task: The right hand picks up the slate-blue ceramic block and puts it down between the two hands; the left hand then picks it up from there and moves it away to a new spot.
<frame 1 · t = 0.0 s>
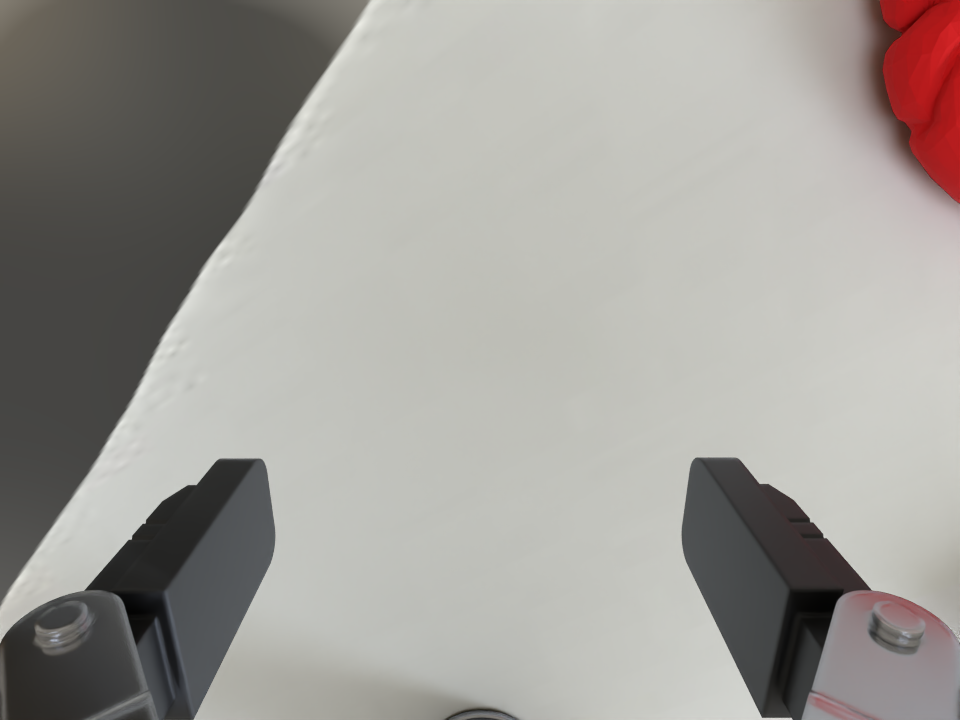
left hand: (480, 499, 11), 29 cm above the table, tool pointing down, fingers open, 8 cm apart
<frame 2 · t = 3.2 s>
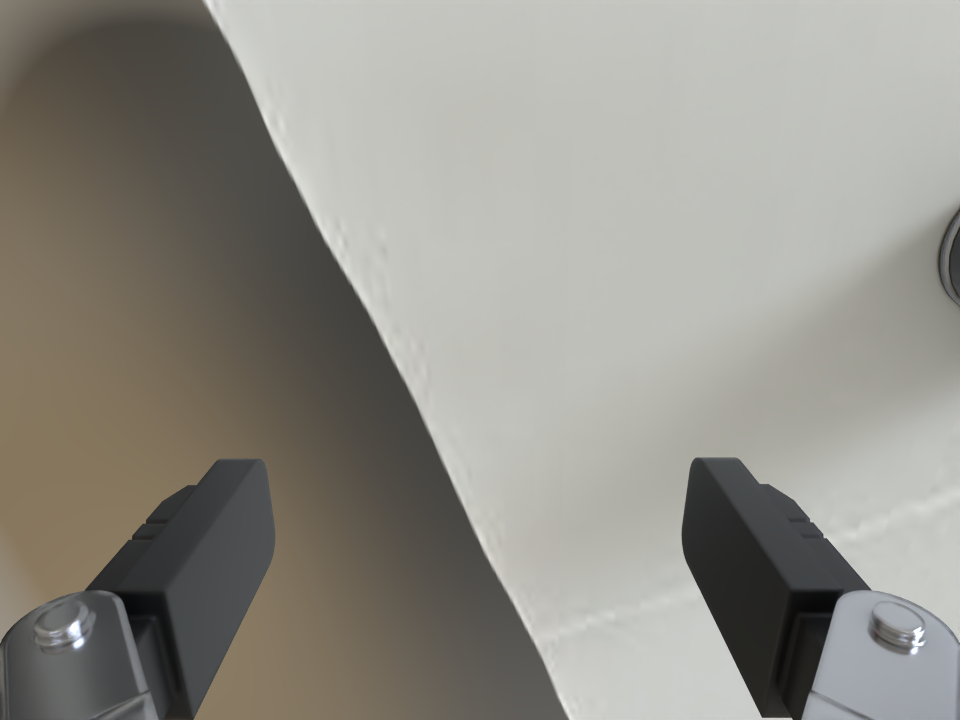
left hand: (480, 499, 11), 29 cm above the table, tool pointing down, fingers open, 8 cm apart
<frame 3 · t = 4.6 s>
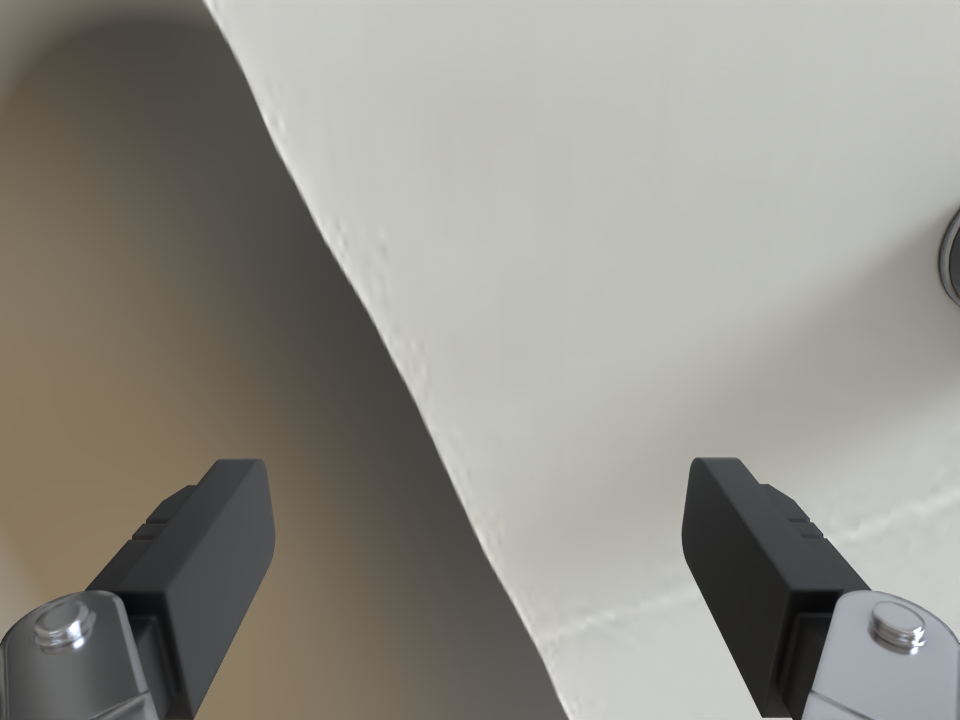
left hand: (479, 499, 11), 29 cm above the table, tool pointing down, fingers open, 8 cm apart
when the right hand's fingers open (1 cm above the table, at t = 6.2 s): block stays where it is, on the table.
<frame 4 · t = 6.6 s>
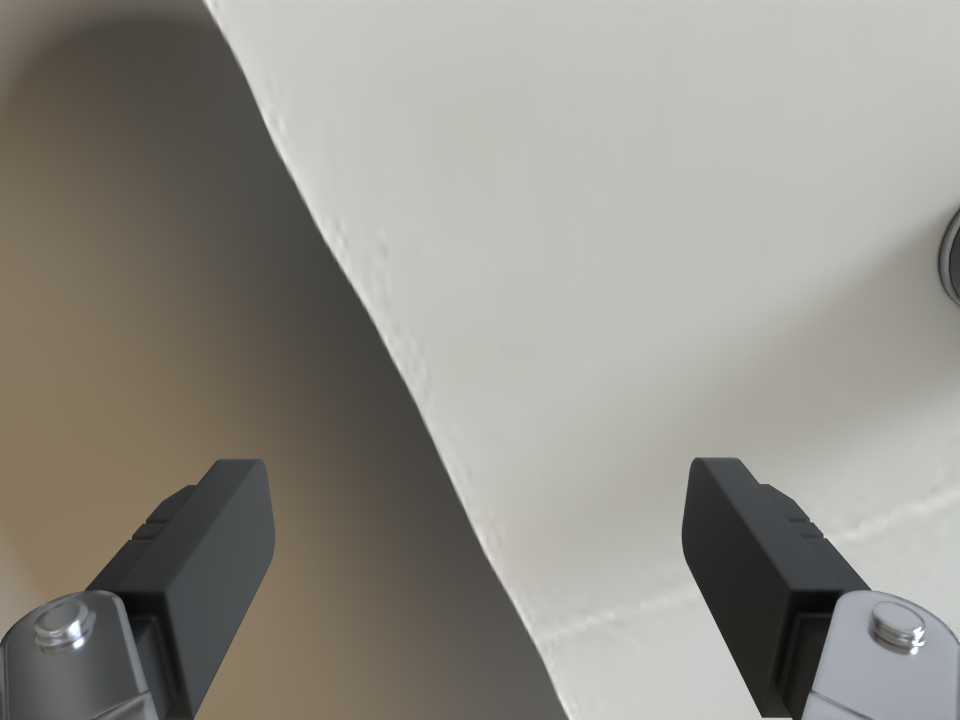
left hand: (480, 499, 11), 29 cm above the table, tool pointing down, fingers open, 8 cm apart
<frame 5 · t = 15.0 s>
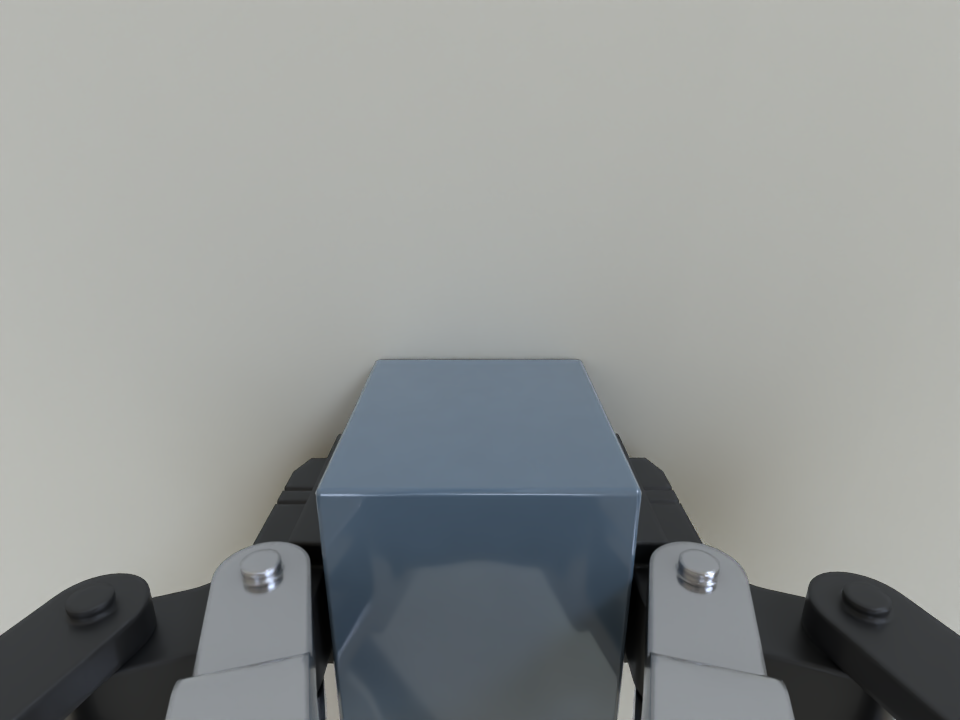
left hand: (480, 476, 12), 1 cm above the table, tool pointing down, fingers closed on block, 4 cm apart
block: (478, 461, 13), on the table, touching left hand
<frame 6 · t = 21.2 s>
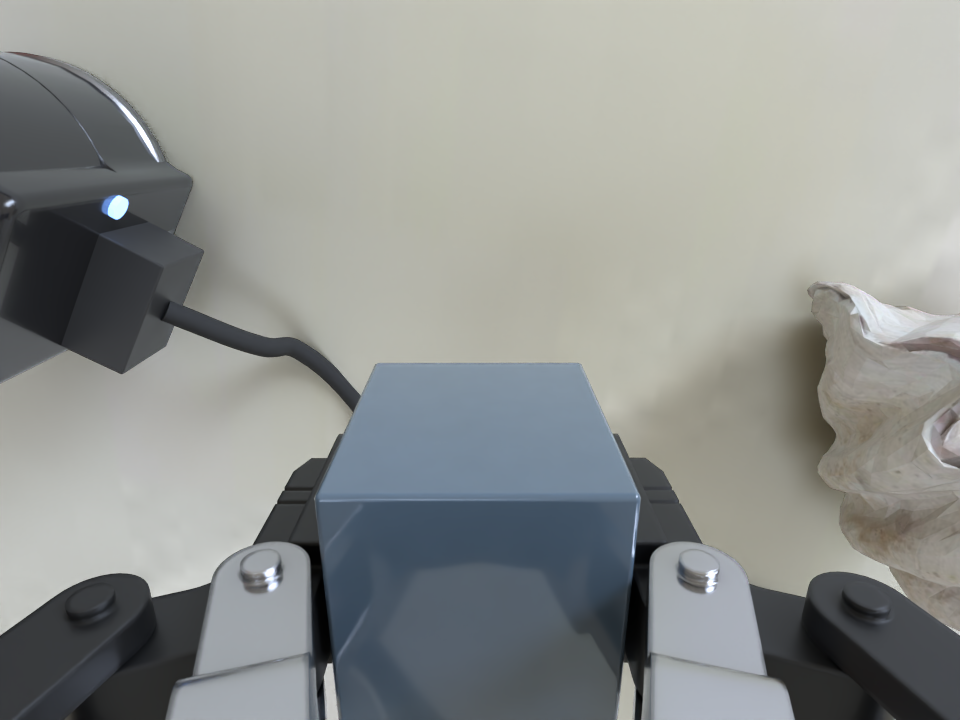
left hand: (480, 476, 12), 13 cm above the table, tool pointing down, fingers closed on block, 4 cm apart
block: (478, 464, 13), point 13 cm above the table, touching left hand
seashell: (892, 409, 26), on the table
when the left hand's fingers open (1 cm above the table, at t = 27.7 s): block stays where it is, on the table.
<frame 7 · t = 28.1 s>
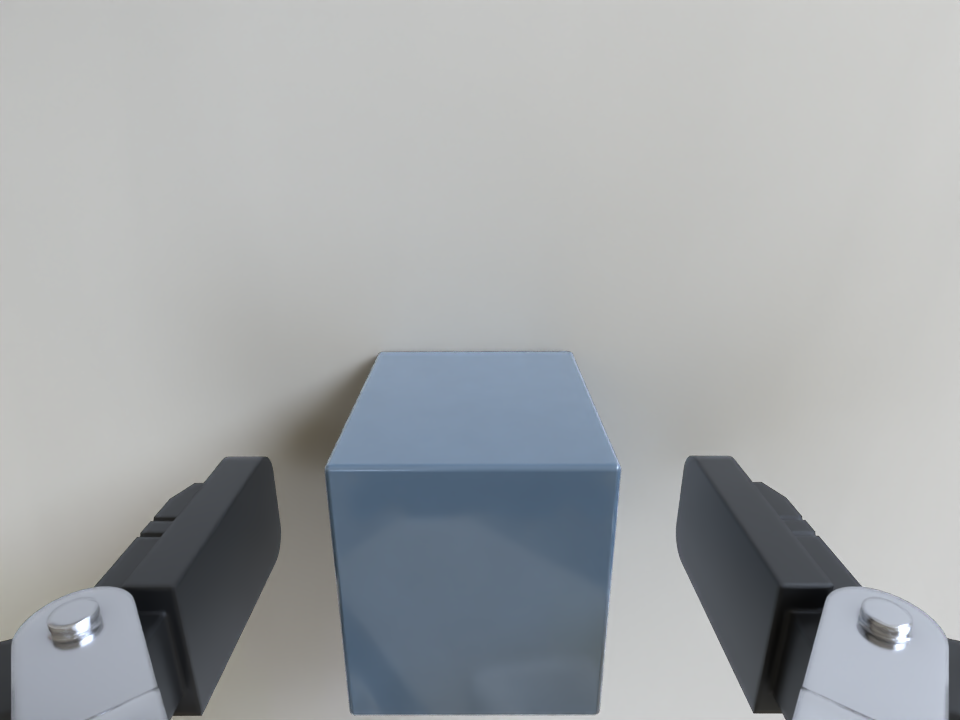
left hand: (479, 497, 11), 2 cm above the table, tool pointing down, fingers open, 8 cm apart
block: (476, 448, 13), on the table
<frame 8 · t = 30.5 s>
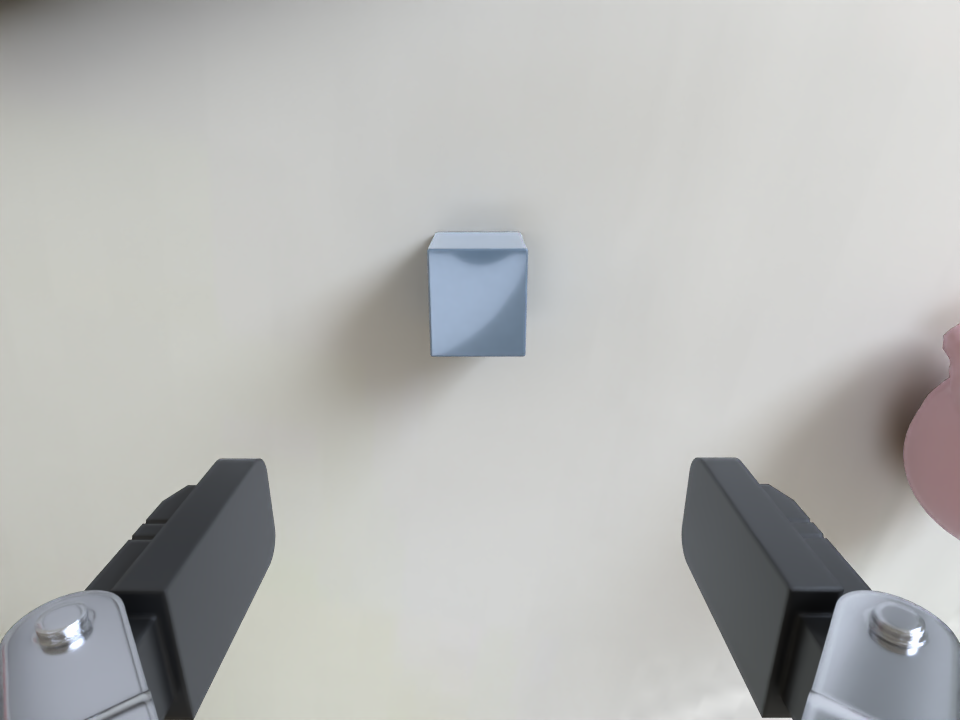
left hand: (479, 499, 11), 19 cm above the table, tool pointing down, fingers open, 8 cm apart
block: (478, 279, 30), on the table
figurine: (944, 401, 32), on the table
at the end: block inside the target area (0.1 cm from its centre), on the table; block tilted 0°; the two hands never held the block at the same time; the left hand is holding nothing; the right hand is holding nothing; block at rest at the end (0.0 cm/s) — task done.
